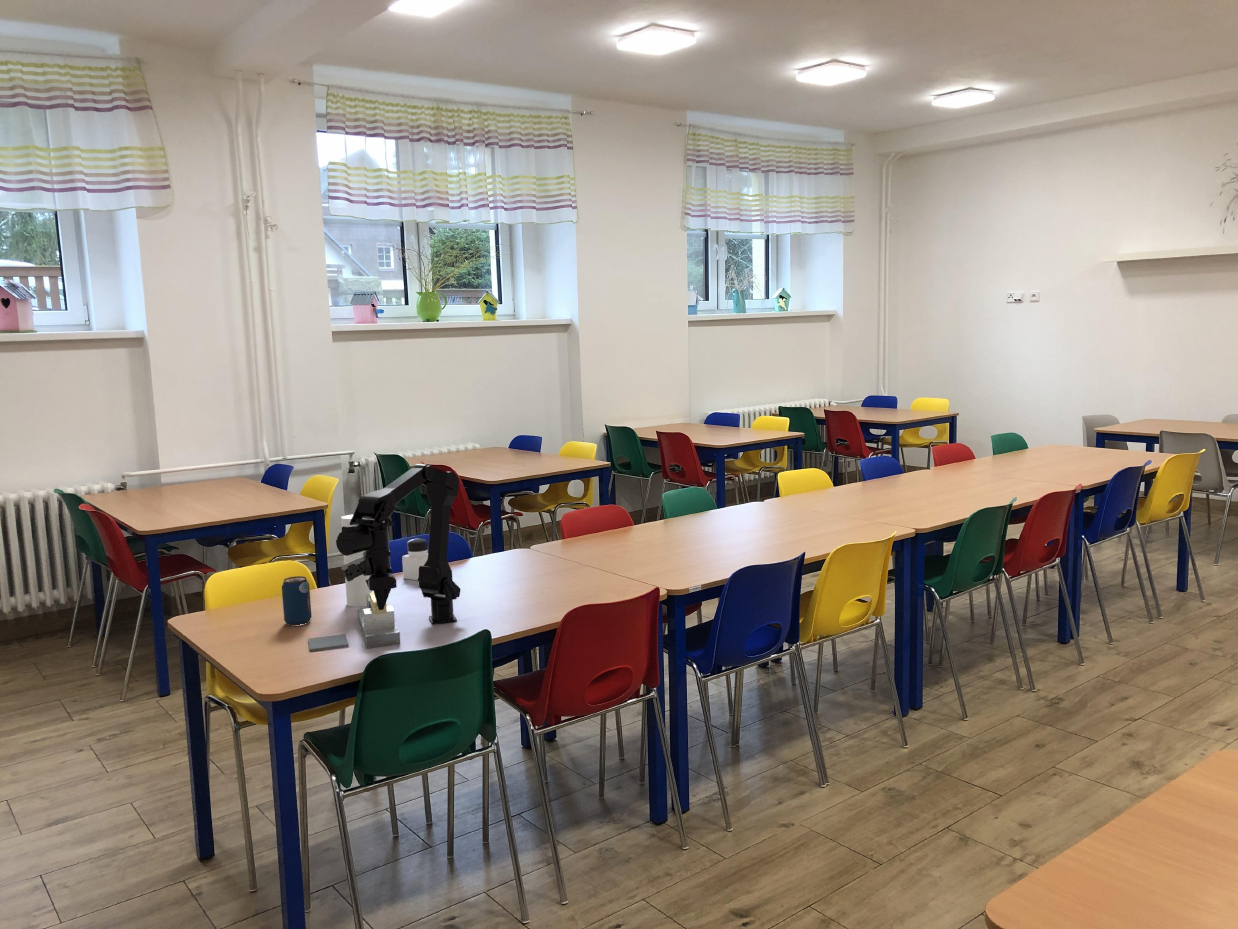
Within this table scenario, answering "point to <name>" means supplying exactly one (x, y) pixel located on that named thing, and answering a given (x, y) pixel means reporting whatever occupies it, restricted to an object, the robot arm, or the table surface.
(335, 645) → the mat
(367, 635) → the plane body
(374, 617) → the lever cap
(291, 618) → the soda can
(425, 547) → the medicine bottle
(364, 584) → the cylindrical container
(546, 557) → the table surface
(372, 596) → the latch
